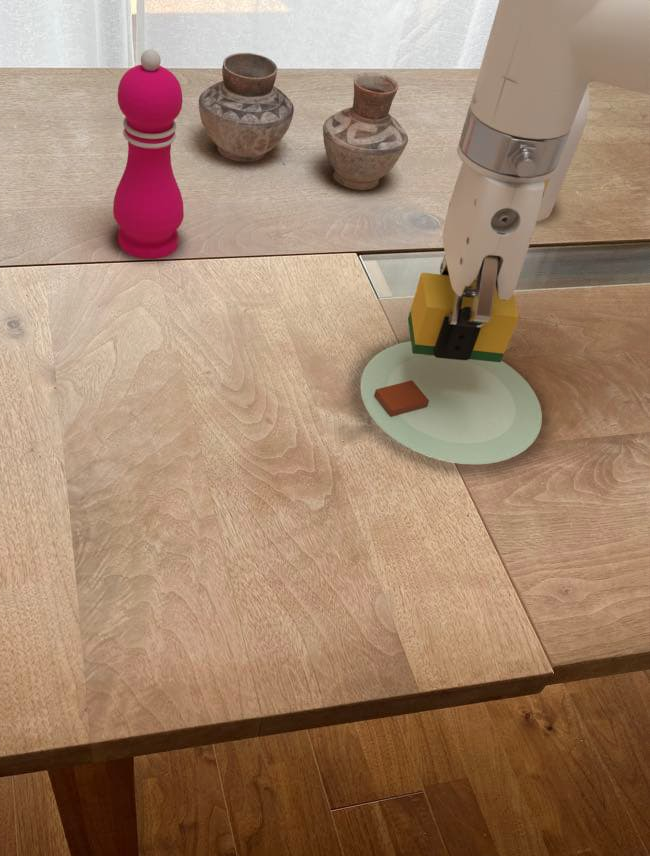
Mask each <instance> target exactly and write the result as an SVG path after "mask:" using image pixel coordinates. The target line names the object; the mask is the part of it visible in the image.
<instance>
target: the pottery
mask: <svg viewBox="0 0 650 856" xmlns="http://www.w3.org/2000/svg"><path fill="white" fill-rule="evenodd" d="M221 73H222V74H221V75H222V80H221V81H218V82H216V83H214V84H213V85H210V86H209V87H207V88H206V89H205V90H204V91H202V92H201V93H200V95H199V97H198V112H199V116H200V120H201V124H202V126H203V128H204V130H205V132H206V134H207V135H208V136H209V138H210V139H211V140H212V142H213V143H214V144H215V145H216V146H217V151H218V153H219V155H221V156H222V157H224V158H226V159H229V160H232V161H234V162H240V163H250V162H257V161H259V160H261V159H263V158H264V157H265V156H266V154H267V153H268V152H270V151H271V150H272V149H274V148H275V147H276V145H278V143H280V142H281V140H282V139H283V138H284V136H285V135H286V134H287V132H288V130H289V128H290V126H291V123H292V121H293V117H294V113H295V106H294V104H293V102H292V101H291V100H290V98H289V97H288V96H287V95H286V93H284V92H283V91H281V89H280V88H278V87H276V86H275V82H276V79H277V74H278V66H277V64H276V63H275V62H274V60H271V59H270V58H268V57H267V56H264V55H260V54H257V53H252V52H237V53H233V54H229V55H227V56H226V57H225V58H224V59H223V62H222V71H221ZM398 90H399V83H398V81H396V80H395V79H394V78H392V77H391V76H389V75H387V74H383V73H377V72H362V73H359V74H356V75H355V76H354V78H353V98H352V99H353V101H352V106H351V107H348V108H345V109H342V110H340V111H338V112H336V113H334V114H332V115H331V116H329V117H328V118H327V119H325V121H324V123H323V125H322V136H323V137H322V138H323V145H324V150H325V154H326V157H327V160H328V162H329V164H330V166H331V167H332V168H333V170H334V171H333V179H334V180H335V181H336V182H337V183H338V184H339V185H341V186H342V187H343V186H344V187H345V188H348V189H351V190H357V191H367V190H372V189H375V187H377V186H378V185H379V183H380V182H379V181H380V179H381V178H383V177H384V176H385V175H387V174H388V173H389V172H390V171H391V170H392V169H393V168H394V167H395V165H396V164H397V162H398V161H399V159H400V158H401V156H402V154H403V152H404V151H405V149H406V147H407V145H408V142H409V137H408V134H407V132H406V130H405V129H404V127H403V126H402V125H401V124H400V122H399V121H397V120H396V118H394V117H393V116H392V115H391V114H390V110H391V107H392V104H393V102H394V99H395V96H396V94H397V92H398Z"/></svg>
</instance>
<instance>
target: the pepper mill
mask: <svg viewBox="0 0 650 856" xmlns="http://www.w3.org/2000/svg"><path fill="white" fill-rule="evenodd" d="M117 87H118V88H117V104H118V107H119V109H120V111H121V113H122V115H124V119H123V121H122V125H123V131H122V133H123V134H122V135H123V137H124V139H125V140H126V141H127V147H128V149H127V161H126V164H125V168H124V171H123V174H122V175H121V178H120V180H119V183H118V185H117V187H116V190H115V193H114V197H113V205H112V212H113V214H112V215H113V219H114V220H115V222H116V224H117V225H118V226H119V229H118V233H117V234H118V235H117V238H118V246H119V247H120V249H121V250H122V251H123V252H125V253H126V254H128V255H130V256H132V257H135V258H138V259H144V260H156V259H157V260H159V259H162V258H167V257H168V256H170V255H172V254H173V253H174V252H175V251H176V250H177V248H178V245H179V235H178V234H179V232H178V231H177V230H178V229H179V228H180V227H181V225H182V223H183V221H184V215H185V213H184V212H185V211H184V201H183V200H184V199H183V196H182V192H181V189H180V188H179V187H180V186H179V185H178V182H177V180H176V177H175V174H174V171H173V166H172V158H171V157H172V156H171V151H172V150H171V148H172V143H174V142H175V141H176V138H177V133H176V130H177V123H176V121H175V119H176V118H178V116H179V115H180V113H181V112H182V111H181V110H182V109H183V101H184V100H183V89H182V86H181V84H180V81H179V80H178V78H177V76H176V75H175V74H174V73H173V72H172V71H171V70H169V69H168V68H166V67H164V66H161V56H160V54H159V52H158V51H157V50H155V49H152V48H148V49H145V50H144V51H143V52H142V53H141V56H140V64H138V65H135V66H133V67H131V68H130V69H128V70H127V71H126V72H125V73H124V74H123V75H122V77H121V79H120V81H119V84H118V86H117Z"/></svg>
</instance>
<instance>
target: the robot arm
mask: <svg viewBox="0 0 650 856" xmlns="http://www.w3.org/2000/svg"><path fill="white" fill-rule="evenodd" d="M591 82H595V83H600V84H604V85H609V86H613V87H617V88H620V89H625V90H628V91H632V92H636V93H640V94H645V95H650V0H499V1H498V4H497V8H496V11H495V15H494V18H493V22H492V25H491V29H490V32H489V35H488V40H487V43H486V46H485V51H484V53H483V57H482V60H481V64H480V67H479V71H478V74H477V78H476V81H475V86H474V88H473V93H472V97H471V100H470V103H469V106H468V109H467V113H466V117H465V120H464V124H463V126H462V131H461V133H460V137H459V141H458V144H457V147H456V149H457V151H456V152H457V155H458V158H460V160H461V161H462V162H461V163H462V164H461V165H460V170H459V173H458V175H457V178H456V181H455V185H454V188H453V191H452V194H451V197H450V200H449V204H448V207H447V210H446V215H445V219H444V223H443V229H442V243H443V250H444V255H443V257H442V261H441V263H440V267H439V275H449V277H450V282H451V286H452V289H453V290H454V292H455V293H454V297H453V302H452V306H451V310H450V314H449V317H444V320H443V323H442V326H441V329H440V333H439V336H438V339H437V342H436V345H435V348H434V356H435V357H436V358H445V359H455V360H468V359H470V357H471V354H472V351H473V349H474V346H475V343H476V340H477V338H478V335H479V332H480V329H481V328H482V327H483V324H484V323H488V322H489V321H490V318H491V312H492V305H493V298H494V292H495V286H496V290H497V294H498V298H499V299H501V300H503V301H507V300H509V299H510V298H511V297H512V295H514V293H515V290H516V287H517V284H518V281H519V278H520V276H521V272H522V269H523V267H524V264H525V260H526V257H527V255H528V251H529V247H530V244H531V242H532V238H533V236H534V232H535V228H536V224H537V222H538V221H537V218H538V214H539V210H540V206H541V201H542V197H543V192H544V186H545V180H547V179H549V178H550V177H552V175H553V174H554V173H555V170H556V167H557V165H558V162H559V160H560V157H561V154H562V152H563V149H564V146H565V144H566V141H567V139H568V136H569V133H570V131H571V127H572V125H573V122H574V120H575V117H576V114H577V112H578V109H579V107H580V104H581V101H582V99H583V96H584V94H585V91H586V88H587V86H588V83H589V84H590V83H591ZM473 282H476V287H473V286H470V285H471V284H472V283H473ZM463 297H471V298H474V302H473V305H472V306H471V307H464V308H462V309H461V306H462V302H463Z"/></svg>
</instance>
